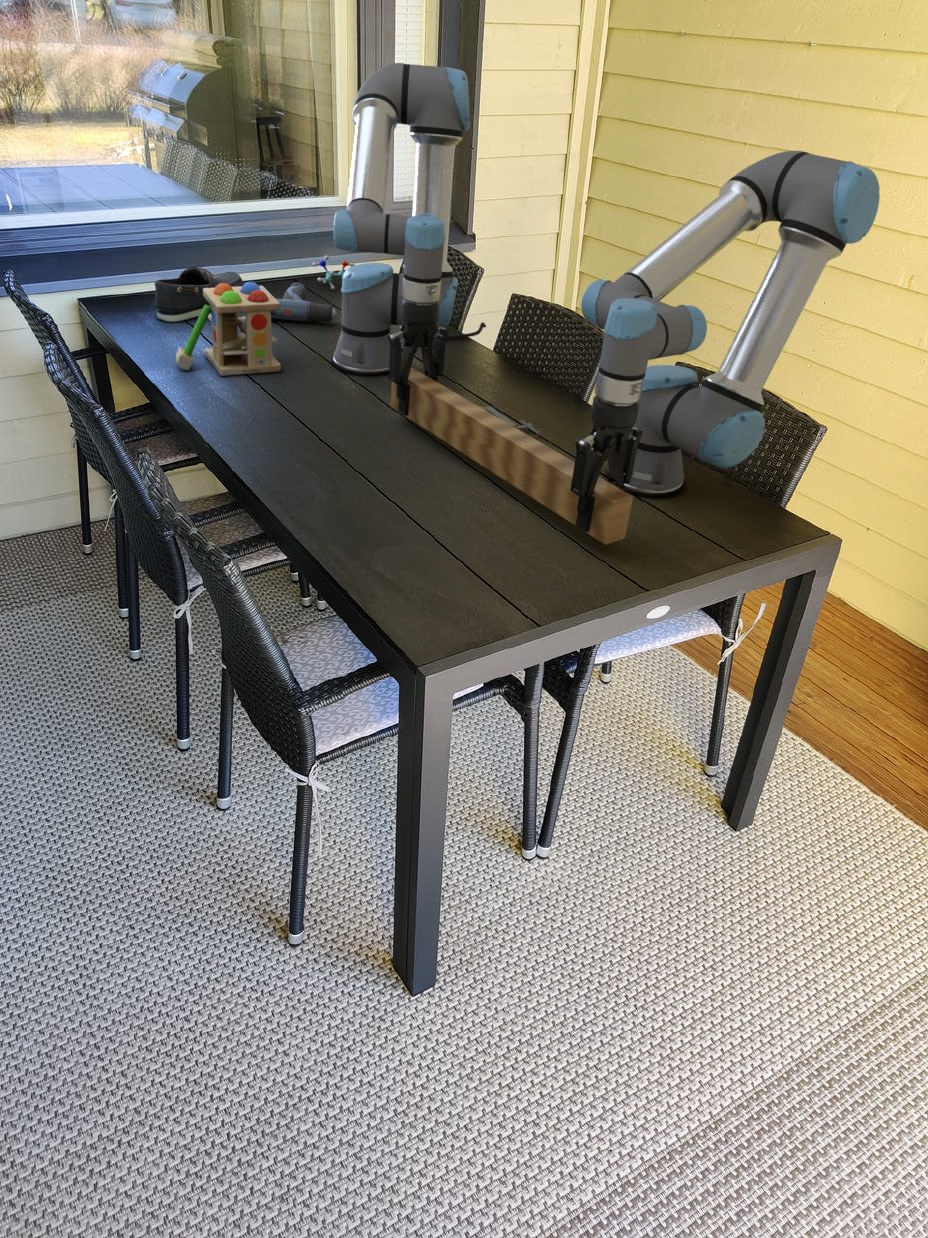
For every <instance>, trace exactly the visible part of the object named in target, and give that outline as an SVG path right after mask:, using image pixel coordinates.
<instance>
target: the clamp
mask: <svg viewBox="0 0 928 1238" xmlns="http://www.w3.org/2000/svg"><path fill="white" fill-rule="evenodd" d="M480 407H481V408H482V409H484V410H486V411H487V412H489V413H491V414H493V415H494V416H496V417H498V418H499V419H501V420H503V421H505V422H506V423H508V424H510V425H511V426H513V427H515V428H517V429H518V430H520V431H522V430H526V431H529V430H530V431H532V432H533V433H535V434H536V436H537V437H540V436H541V434H542V433H541V431H540V430H536V429H535V428H533V424H532V423H531V422H529V423H526V422H525V421H524V419H520V420H519V424H520V425H518V426H517V424H516V423H515V422H513V421H512V420H510V419H509V418H507V417H506V416H505V415H503V414H502V413H501V412H500V411H498V410H497V409H496V408H494V407H492V406H491V405H488V406H480Z"/></svg>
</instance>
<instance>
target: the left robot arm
mask: <svg viewBox="0 0 928 1238" xmlns="http://www.w3.org/2000/svg"><path fill="white" fill-rule="evenodd" d="M468 79H469V78H468V76H467V73H466V72H465V71H463V70H462V69H459V68H453V67H447V66H436V65H435V66H434V65H425V64H423V65H422V64H410V63H404V62H393V63H389V64H386V65H384V66H382V67H380V68H379V69H377V70H376V71H374V72H373V73H372V74H371V75H370V76H369V77H368V78H367V79H366V80H365V81H364V82H363V84H362V85H361V86H360V87H359V90H358V92H357V94H356V97H355V99H354V102H353V108H352V121H353V125H355V132H354V140H353V148H352V149H353V150H352V159H351V166H350V177H349V184H348V194H347V201H346V208H344V209H337V210H336V211H335V213H334V218H333V244H334V246H335V247H336V248H337V249H338V250H342V251H349V252H353V253H371V254H384V255H395V256H403V257H404V259H403V264H402V270H401V271H402V272H401V273H398V272H394V268H393V266H392V265H391V264H388V263H383V262H366V263H360V264H359V263H358V264H356V265H355V266H352V267H351V266H349V267H348V268H346V270H344V271H343V272H344V274H343V279H342V278H341V279H342V281H341V288H340V293H341V319H340V321H341V324H340V325H341V326H340V329H341V330H340V336H339V338H338V341H337V344H336V348H335V350H334V352H333V361H332V362H333V363H332V364H333V366H334V367H335V368H337V369H338V370H339V371H342V372H344V373H347V374H352V375H356V376H380V375H381V376H382V375H386V374H388V380H389V381H391V383H392V382H394V383H396V384H397V394H396V396H397V398H398V399H399V409H398V411H399V412H398V411H397V412H398V413H400V414H401V413H402V415H403V414H404V415H403V416H404V417H406V416H407V415H408V414H409V397H410V385H409V384H407V382H408V378H409V374H410V370H411V367H412V366H413V361H414V359H415V355H416V354H417V352H418V350H419V348H420V352H421V357H422V365H423V373H424V375H426V376H427V377H429V378H431V379H432V380H434V381H436V382H438V380H439V377H442V376H443V375H444V368H445V355H446V342H447V340H450V339H462V338H472V337H475V336H478V335H480V334H481V333H482V331H483V329H484V328H487V325H486V324H485V322H483V321H482V322H480V324H479V327H478V330H476V331H472V332H469V333H458V334H449V333H450V331H449V329H447V327H448V326H449V325H450V323H451V319H452V314H453V312H454V311H453V310H454V305H455V300H456V295H457V289H458V284H459V280H458V278H457V277H455V276H453V271H454V270H453V268H452V267H451V265H450V264H449V263H448V247H449V234H450V220H451V208H452V207H451V206H452V194H453V193H452V191H453V176H454V164H455V163H454V162H455V151H456V150H455V149H456V146H457V145H458V144H459V143H460V142H461V141H462V140H463V134H464V133H463V132H466V131H469V130H470V97H469V96H470V95H469V80H468ZM399 124H400V125H407V126H409V135H410V137H411V138H412V140H413V141H414V142H415V153H414V154H415V155H414V156H415V157H414V172H413V173H414V175H413V190H412V191H413V193H412V211H411V212H412V213H411V215H403V214H390V213H385V205H386V204H385V203H386V193H387V182H388V172H389V163H390V153H391V152H390V151H391V142H392V133H393V132H394V131H395V130H396V128H397V125H399ZM391 326H400V328H399V331H397V332H395V333H392V332H391Z"/></svg>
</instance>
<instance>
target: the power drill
mask: <svg viewBox="0 0 928 1238" xmlns="http://www.w3.org/2000/svg"><path fill="white" fill-rule="evenodd" d="M307 295H308V290H307V287H306V285H304V284H303V283H301V282H293V283H292V284H291V285H290V286H289V287H288V288H287V289H286V291H285V292H284V294H283V297H282V298H275V299H276V300H277V301H278V302H279V303H280V310H271V319H274V320H275V319H276V320H283V321H294V322H295V321H297V322H332V321H333V320H334V319H336V318H337V317H338V312H337V311H336V308H334V307H333V306H332V305H331V304H324V303H317V302H313V301H307V300H305V299H306V297H307Z"/></svg>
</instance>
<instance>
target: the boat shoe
mask: <svg viewBox="0 0 928 1238" xmlns="http://www.w3.org/2000/svg"><path fill="white" fill-rule="evenodd" d="M221 283H226V284H228V285H230V286H231V287H242V286H243V285H244V280H243V278H242V277H241V275H240V274H239V273H238V272H235V271H227V272H221V273H216V274H213V273H211V271H209V270H208V269H206V268H203V267H197V266H195V265H193V266H190V267H187V268H186V269H184V270H183V271H182V272H181V273H180V274H179V276H178V277H176V278H175V277H174V278H161V279H156V280H154V287H155V298H154V299H155V302H154V303H153V305H154V306H155V307H156V308H157V309H156V317H157V319H159V320H161V321H164V322H171V323H172V322H181V321H185V320H189V319H192V318H196V317H199V316H200V314H201V311H202V309H203V307H204V305H208V306H210V307H211V305H210V304H209V302H208V301H207V300H206V299H205V297H204V296H203V289H204V288H215V287H216V286H217V285H218V284H221Z"/></svg>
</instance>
